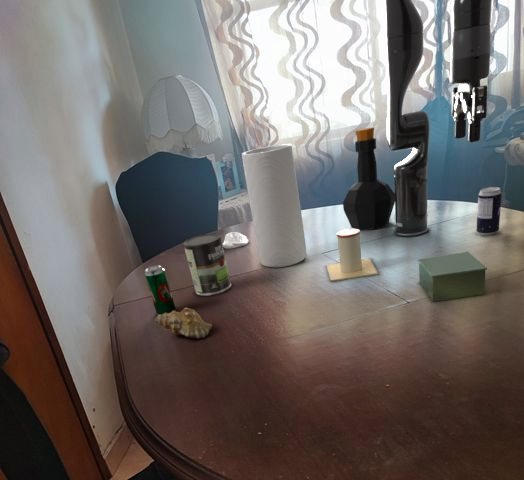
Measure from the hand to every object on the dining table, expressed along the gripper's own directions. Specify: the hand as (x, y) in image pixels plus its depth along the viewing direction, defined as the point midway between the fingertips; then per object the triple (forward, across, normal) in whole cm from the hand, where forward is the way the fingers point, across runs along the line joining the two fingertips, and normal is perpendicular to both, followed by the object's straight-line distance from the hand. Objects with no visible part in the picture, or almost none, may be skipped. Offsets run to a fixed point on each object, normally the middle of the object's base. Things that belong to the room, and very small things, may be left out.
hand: (466, 139), depth 103 cm
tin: (+28, +16, -8) cm, 33 cm away
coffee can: (+28, -7, -65) cm, 71 cm away
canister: (+28, -5, -27) cm, 39 cm away
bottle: (+28, -45, -15) cm, 55 cm away
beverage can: (+28, -18, +13) cm, 36 cm away
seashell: (+28, +20, -68) cm, 76 cm away
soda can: (+28, +5, -76) cm, 81 cm away
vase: (+28, -22, -45) cm, 58 cm away
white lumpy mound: (+28, -48, -62) cm, 83 cm away
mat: (+28, -5, -27) cm, 39 cm away
